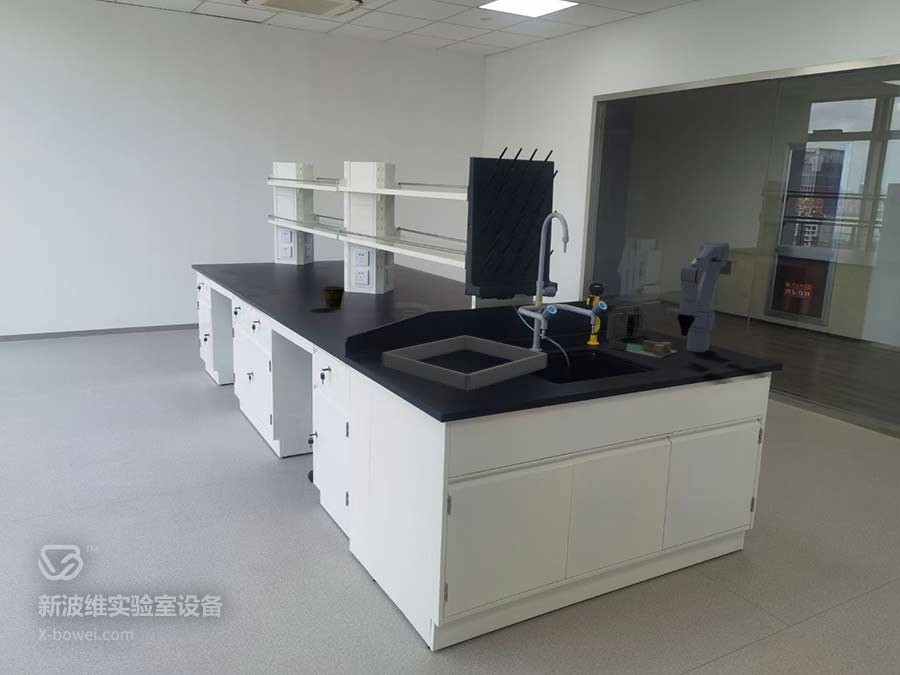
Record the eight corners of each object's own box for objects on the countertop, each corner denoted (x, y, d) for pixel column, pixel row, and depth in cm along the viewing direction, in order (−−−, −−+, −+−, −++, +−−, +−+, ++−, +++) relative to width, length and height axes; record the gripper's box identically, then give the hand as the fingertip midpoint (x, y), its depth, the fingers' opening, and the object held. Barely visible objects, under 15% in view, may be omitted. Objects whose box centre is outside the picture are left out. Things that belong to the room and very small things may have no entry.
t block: (648, 347, 277) (649, 338, 277) (670, 351, 272) (671, 343, 271) (638, 350, 271) (639, 342, 270) (660, 355, 265) (661, 346, 264)
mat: (626, 343, 288) (626, 341, 287) (677, 353, 273) (678, 351, 273) (607, 349, 276) (607, 346, 275) (659, 360, 262) (660, 357, 261)
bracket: (626, 341, 287) (627, 335, 286) (643, 344, 282) (643, 338, 282) (608, 346, 275) (608, 341, 275) (625, 350, 271) (625, 344, 270)
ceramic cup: (325, 305, 343) (325, 285, 341) (345, 306, 343) (345, 286, 341) (320, 310, 331) (320, 289, 329) (341, 311, 331) (341, 290, 329)
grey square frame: (464, 347, 268) (465, 335, 267) (546, 367, 245) (547, 353, 244) (381, 367, 236) (382, 352, 235) (466, 391, 213) (467, 375, 211)
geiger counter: (616, 308, 287) (654, 304, 302) (604, 305, 292) (643, 301, 307) (612, 341, 290) (651, 335, 305) (601, 338, 295) (639, 332, 310)
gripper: (665, 297, 261) (661, 333, 264) (703, 303, 252) (698, 340, 255) (673, 296, 266) (669, 330, 269) (711, 301, 257) (706, 337, 260)
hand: (684, 335), depth 262 cm, fingers closed
